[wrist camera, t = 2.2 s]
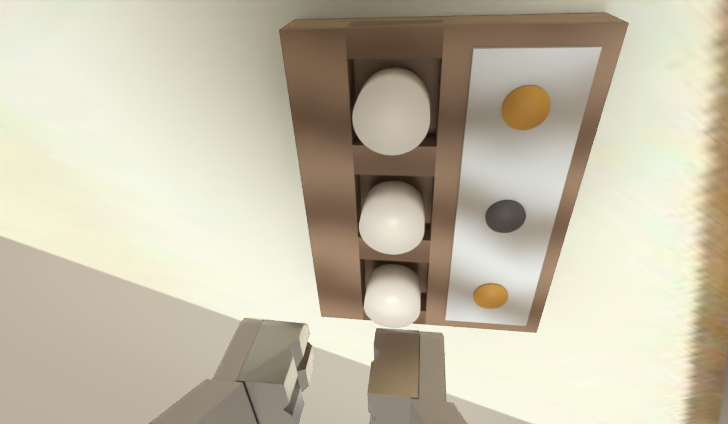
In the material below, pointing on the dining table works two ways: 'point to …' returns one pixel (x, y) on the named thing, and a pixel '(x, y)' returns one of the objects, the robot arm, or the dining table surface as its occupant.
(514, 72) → the console
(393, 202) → the middle button
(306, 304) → the dining table surface
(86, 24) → the dining table surface
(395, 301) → the button
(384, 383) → the robot arm
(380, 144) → the button
